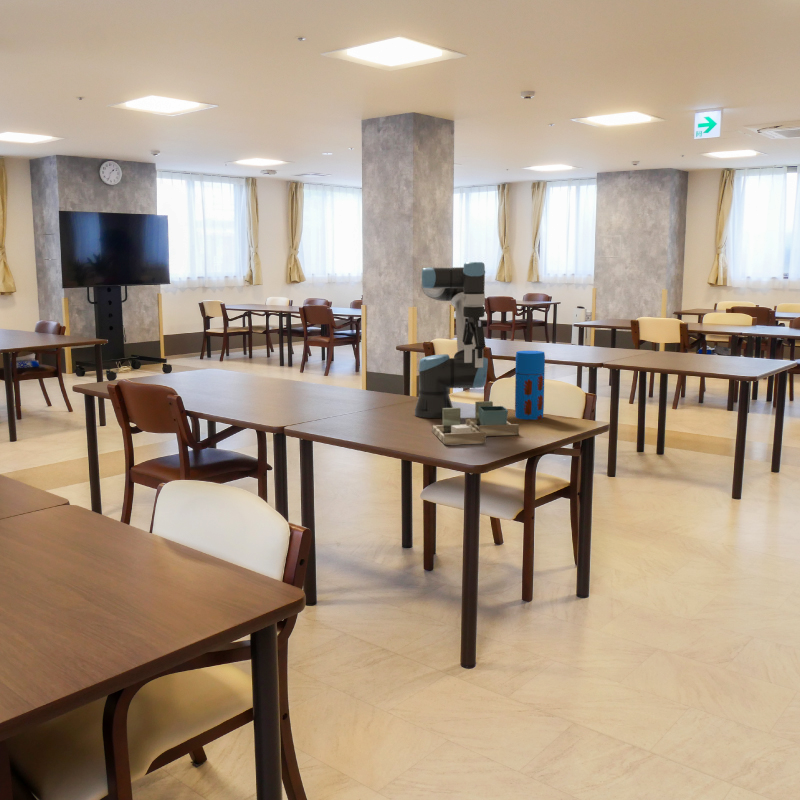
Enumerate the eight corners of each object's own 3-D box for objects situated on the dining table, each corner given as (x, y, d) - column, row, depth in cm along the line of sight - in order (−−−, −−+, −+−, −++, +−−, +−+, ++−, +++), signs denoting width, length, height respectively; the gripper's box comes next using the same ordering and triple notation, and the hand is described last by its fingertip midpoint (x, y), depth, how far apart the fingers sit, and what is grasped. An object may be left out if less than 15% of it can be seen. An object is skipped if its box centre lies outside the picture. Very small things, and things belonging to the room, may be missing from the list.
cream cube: (451, 440, 279) (451, 425, 278) (464, 439, 280) (464, 424, 280) (456, 443, 274) (456, 428, 273) (470, 442, 276) (470, 427, 275)
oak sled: (465, 423, 305) (465, 402, 304) (501, 422, 307) (501, 400, 306) (480, 436, 283) (480, 413, 282) (518, 434, 285) (519, 411, 283)
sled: (432, 430, 292) (431, 408, 291) (469, 429, 294) (469, 407, 293) (444, 444, 270) (444, 420, 269) (485, 443, 272) (485, 419, 270)
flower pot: (508, 435, 285) (508, 410, 283) (482, 436, 284) (483, 410, 282) (502, 430, 293) (502, 405, 292) (477, 431, 292) (478, 406, 291)
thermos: (549, 417, 318) (550, 352, 314) (530, 420, 311) (531, 354, 307) (527, 413, 326) (529, 350, 322) (509, 416, 320) (510, 352, 315)
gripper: (454, 304, 308) (454, 361, 312) (474, 308, 284) (473, 369, 287) (473, 303, 309) (473, 360, 313) (495, 307, 285) (494, 369, 289)
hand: (473, 365), depth 300 cm, fingers open, 13 cm apart
